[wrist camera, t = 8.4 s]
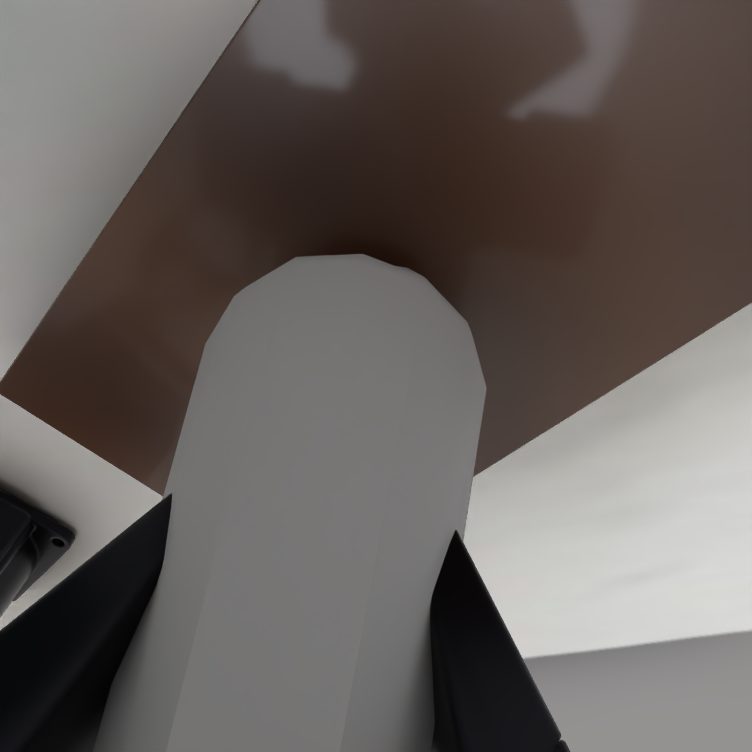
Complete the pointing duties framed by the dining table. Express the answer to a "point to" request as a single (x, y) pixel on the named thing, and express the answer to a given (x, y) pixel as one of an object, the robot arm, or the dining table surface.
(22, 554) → the robot arm
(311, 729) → the salt shaker
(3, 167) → the dining table surface
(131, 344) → the serving board
